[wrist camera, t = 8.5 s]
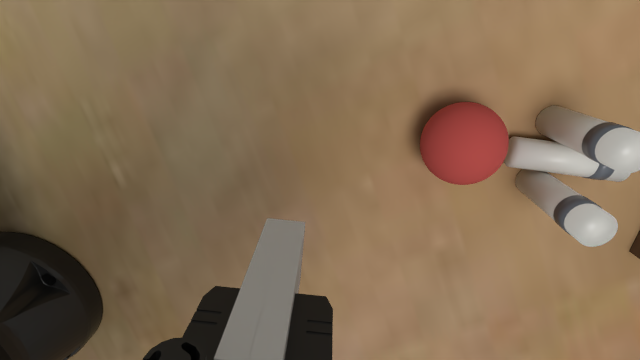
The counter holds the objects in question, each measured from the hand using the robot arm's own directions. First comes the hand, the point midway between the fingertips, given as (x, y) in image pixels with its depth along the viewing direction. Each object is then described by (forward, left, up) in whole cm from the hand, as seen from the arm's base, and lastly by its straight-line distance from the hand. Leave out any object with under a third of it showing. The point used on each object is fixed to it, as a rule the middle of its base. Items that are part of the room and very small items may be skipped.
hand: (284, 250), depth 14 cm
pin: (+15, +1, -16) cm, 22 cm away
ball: (+11, +2, -14) cm, 18 cm away
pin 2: (+18, -1, -17) cm, 25 cm away
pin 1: (+18, +4, -17) cm, 25 cm away
